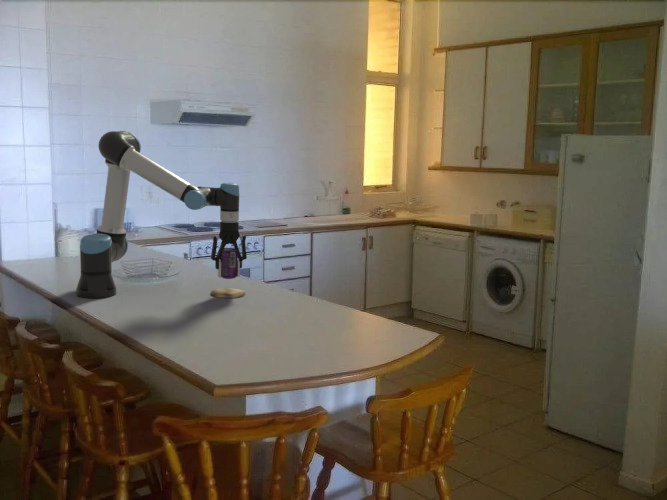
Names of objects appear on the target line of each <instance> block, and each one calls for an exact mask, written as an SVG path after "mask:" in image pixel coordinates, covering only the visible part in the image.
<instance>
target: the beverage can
mask: <svg viewBox="0 0 667 500" xmlns="http://www.w3.org/2000/svg"><path fill="white" fill-rule="evenodd" d="M236 250H237V249H234V247H224V250H223V252H222V255H221V258H220V260H219V261H221V278H222V279H225V280H233V279H235V278H237V267H238V253H237V251H236Z"/></svg>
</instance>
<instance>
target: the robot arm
mask: <svg viewBox="0 0 667 500" xmlns="http://www.w3.org/2000/svg"><path fill="white" fill-rule="evenodd" d="M141 149H142V145H141V142H140V140H139V138H138V137H137V136H136V135H135V134H134V133H132V132H130V131H126V130H118V131H115V130H114V131H113V130H112V131H111V130H110V131H108V132H105V133H104V134H103V135H102V136H101V137H100V139H99V142H98V151H99V153H100V155H101V156H102V157H103V158H104V159H105V161H104V163H105V164H106V165H107V167H108V168H107V175H106V176H107V177H106V186H105V195H104V201H103V209H102V216H101V217H102V218H101V224H100V225H99V226H98V227H97V228H96V233H92V234H87V235H84V236H83V237H82V238H81V239H80V240H79V241H80V244H79V253H80V255H79V256H80V257H79V258H80V276H79V279H78V283H77V284H76V291H75V293H76V296H78V297H81V298H88V299H102V298H109V297H113V296H115V295H116V294H117V286H116V283H115V280H114V277H113V274H112V263H113V262H117V261H119V260H121V259H122V258H123V257H124V256H125V254H126V253H127V252H128V248H129V242H128V239H127V230H126V229H125V228H124V223H125V217H126V216H125V215H126V208H127V199H128V191H129V183H130V177H131V176H130V175H131V172H132V173H134V174H136V175H137V176H138V177H141V178H142V179H144V180H146V181H147V182H149V183H151V184H152V185H154V186H155V187H158V188H159V189H161V190H162V191H164V192H165V193H168V194H169V195H171V196H173V197H174V198H175V199H177V200H179V201H181V202H182V203H184V204H185V206H186V207H187V208H188V209H190V210H193V211H197V210H202V209H203V208H205V207H219V209H220V211H219V214H220V215H219V216H220V217H219V220H220V222H219V233H218V234H217V235H212V236H211V237H212V238H211V239H212V246H211V247H212V248H211V253H210V260H212V261H215V265H214V267H215V270H217V277H218V278H220V279H221V278H222V277H221V261H220V258H221V255H222V252H223V250H224V248H226V245H229V244H230V245H233V248H234V249H237V250H236V251H237V253H238V267H237V277H238V278H239V277H240V274H241V273H240V272H241V271H240V270H241V269H242V268H243V261H244V260H247V258H248V257H247V247H246V239H247V236H246V235H244V234H241V233H240V229H239V228H240V225H239V224H240V222H239V220H240V214H239V213H240V208H239V207H240V186H239V184H238V183H234V182H222V183H221V184H220V186H219V187H209V186H195V185H193V184H191V183H190V182H188V181H187V180H185V179H183V178H181V177H180V176H178V175H176V174H175V173H174V172H172V171H170V170H169V169H166V168H165V167H163V166H161V165H160V164H158V163H157V162H155V161H154V160H151V159H150V158H148V157H147V156H145V155H143V154H142V153H141ZM219 239H220V241H221V242H220V246H219V248H218V251H217V246H218V241H219ZM238 239H239V240H240V245H241V246H240V247H241V251H240V249H239V246H238V242H237V240H238ZM237 277H236V278H237Z"/></svg>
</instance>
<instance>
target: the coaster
mask: <svg viewBox="0 0 667 500" xmlns="http://www.w3.org/2000/svg"><path fill="white" fill-rule="evenodd" d="M210 295H211V296H212V297H215V298H221V299H239V298H242V297H245V296H246V292H245V291H244V290H243V289H238V288H232V287H230V288H229V287H227V288H224V287H223V288H216V289H213V290H211V291H210Z"/></svg>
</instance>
